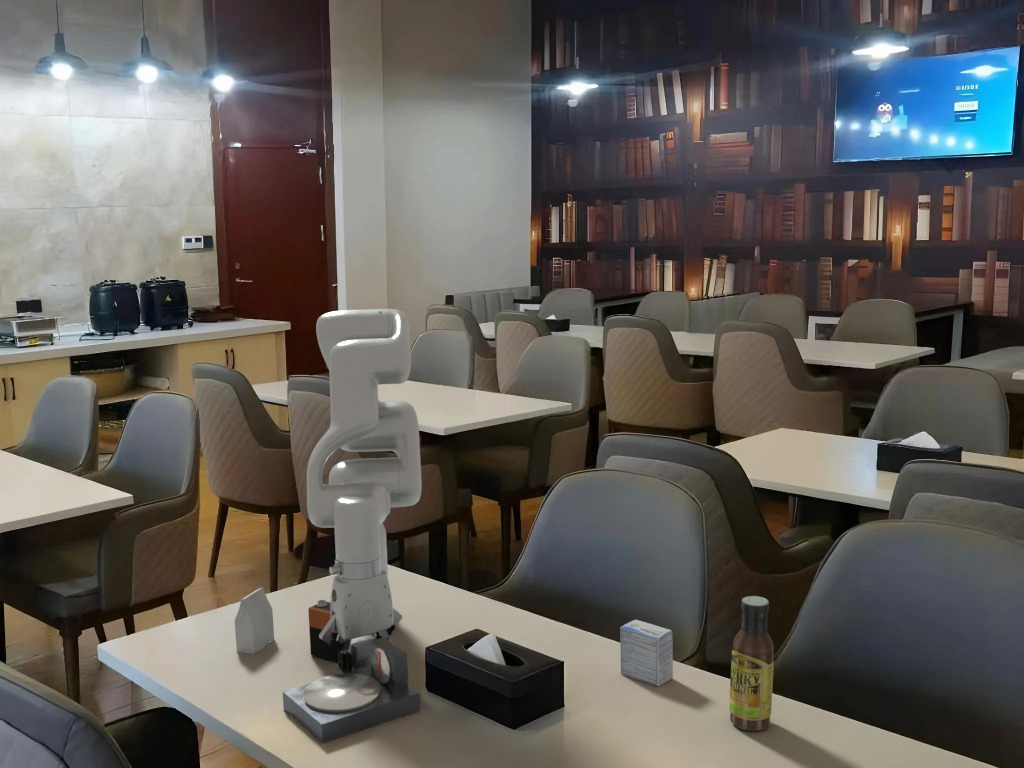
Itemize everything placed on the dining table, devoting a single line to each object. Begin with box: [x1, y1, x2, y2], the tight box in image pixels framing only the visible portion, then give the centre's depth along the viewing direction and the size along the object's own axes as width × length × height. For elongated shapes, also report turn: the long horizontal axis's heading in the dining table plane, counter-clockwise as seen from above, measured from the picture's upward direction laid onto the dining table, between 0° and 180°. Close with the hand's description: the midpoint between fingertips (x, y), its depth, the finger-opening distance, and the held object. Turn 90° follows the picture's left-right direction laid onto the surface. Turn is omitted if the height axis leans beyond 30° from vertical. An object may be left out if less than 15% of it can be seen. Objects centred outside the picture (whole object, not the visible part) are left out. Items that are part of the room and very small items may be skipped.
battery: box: [308, 599, 338, 663], centre depth 189 cm, size 4×7×10 cm, turn 58°
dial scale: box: [282, 638, 421, 744], centre depth 168 cm, size 14×17×9 cm
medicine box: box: [619, 619, 674, 687], centre depth 178 cm, size 8×4×9 cm, turn 47°
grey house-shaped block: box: [234, 587, 275, 654], centre depth 194 cm, size 4×7×10 cm, turn 161°
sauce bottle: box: [729, 595, 775, 732], centre depth 160 cm, size 6×6×20 cm
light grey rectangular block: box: [348, 634, 377, 671], centre depth 182 cm, size 4×4×6 cm
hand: (363, 667), depth 182 cm, fingers open, 5 cm apart
